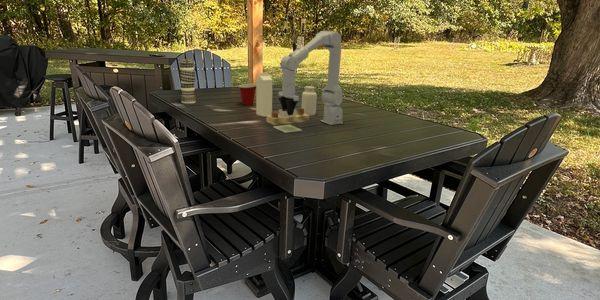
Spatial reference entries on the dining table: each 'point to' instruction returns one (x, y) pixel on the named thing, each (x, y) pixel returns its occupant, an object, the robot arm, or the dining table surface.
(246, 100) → the plastic cup
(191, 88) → the decorative candle
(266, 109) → the milk
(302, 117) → the plane body
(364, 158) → the dining table surface
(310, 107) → the pill bottle
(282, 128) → the rubber mat
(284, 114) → the lever cap
